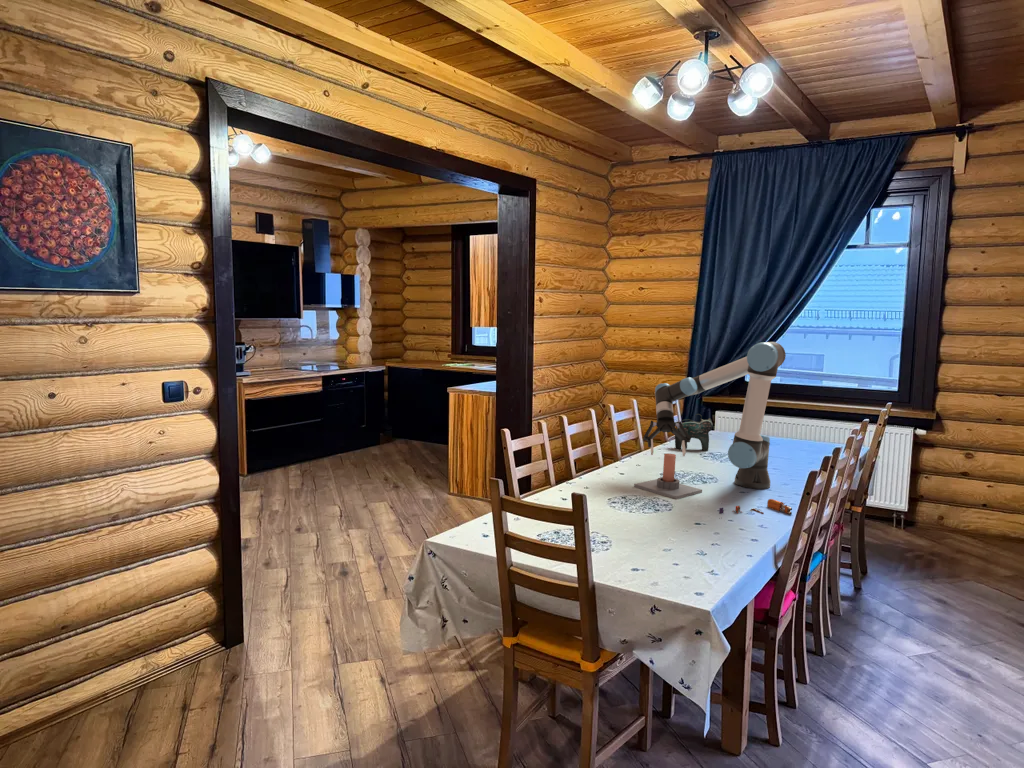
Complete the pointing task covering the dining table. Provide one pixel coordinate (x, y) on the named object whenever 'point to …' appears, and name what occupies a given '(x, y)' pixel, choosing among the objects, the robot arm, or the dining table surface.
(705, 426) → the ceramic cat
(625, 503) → the dining table surface
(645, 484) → the cradle
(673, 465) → the pink cylindrical peg
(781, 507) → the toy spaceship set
